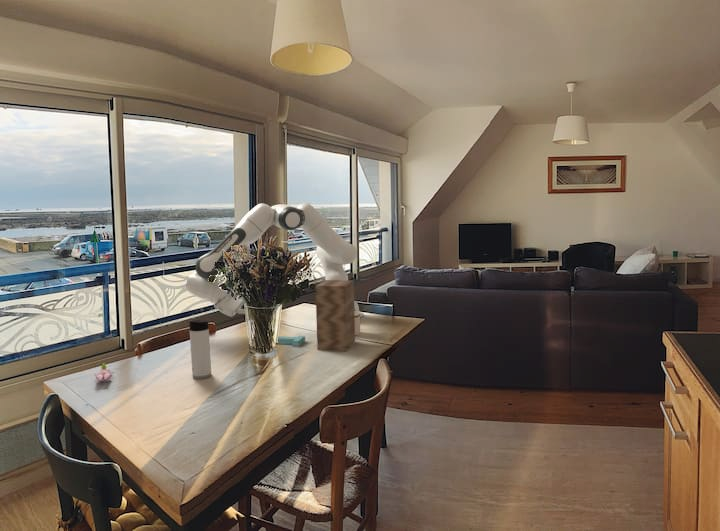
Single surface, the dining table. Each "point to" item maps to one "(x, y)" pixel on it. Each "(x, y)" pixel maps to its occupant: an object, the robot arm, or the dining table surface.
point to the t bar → (291, 340)
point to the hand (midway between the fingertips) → (252, 307)
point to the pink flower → (104, 374)
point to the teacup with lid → (357, 322)
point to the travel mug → (200, 349)
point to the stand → (335, 315)
